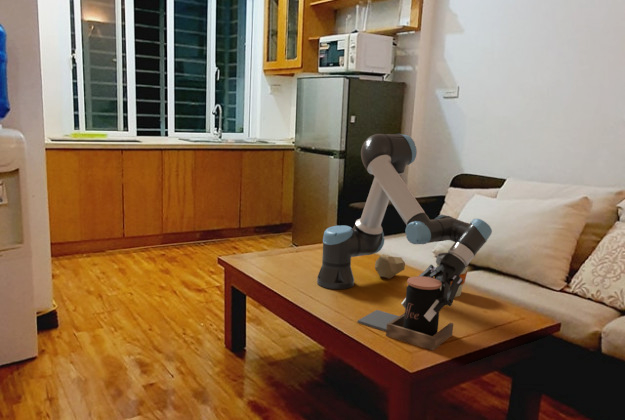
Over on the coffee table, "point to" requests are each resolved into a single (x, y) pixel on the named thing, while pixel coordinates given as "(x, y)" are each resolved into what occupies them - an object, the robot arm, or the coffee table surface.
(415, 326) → the coffee jar
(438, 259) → the reusable coffee cup
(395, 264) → the low-poly potato
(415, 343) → the walnut holder
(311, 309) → the coffee table surface
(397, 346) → the coffee table surface
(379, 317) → the charcoal mat
